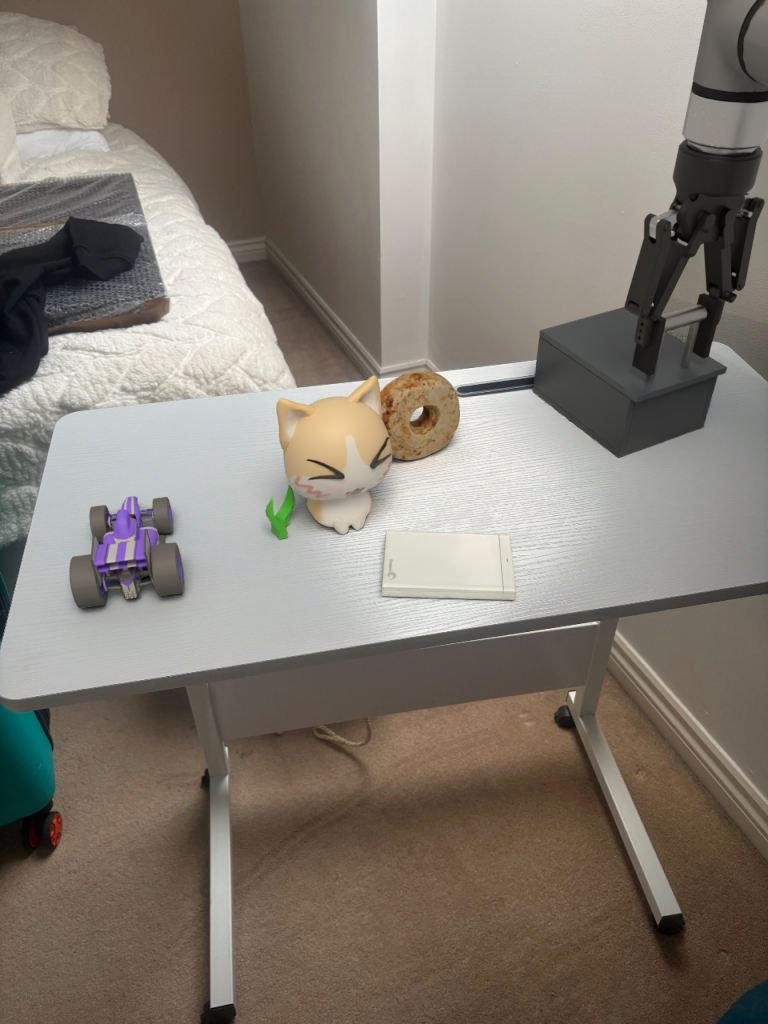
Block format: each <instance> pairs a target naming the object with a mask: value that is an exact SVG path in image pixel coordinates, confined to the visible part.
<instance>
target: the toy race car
mask: <svg viewBox="0 0 768 1024" xmlns="http://www.w3.org/2000/svg"><path fill="white" fill-rule="evenodd" d="M88 515H89V516H88V517H89V526H90V527H89V528H90V532H91V536H92V539H91V547H90V553H89V554H82V555H74V556H72V557H71V558H70V562H69V570H68V571H69V574H68V575H69V585H70V590H71V594H72V598H73V601H74V603H75V605H76V607H77V608H78V609H85V608H92V607H99V606H104V605H106V602H107V599H108V598H107V597H108V590H121V591H122V592H121V593H122V596H123V598H124V599H125V600H129V599H136V598H139V597H140V590H141V586H145V585H149V584H152V585H153V586H154V590H155V592H156V594H157V596H158V597H167V596H172V595H179V594H183V593H184V590H185V578H184V575H185V574H184V567H183V563H182V562H183V561H182V556H181V551H180V548H179V545H178V543H177V542H176V541H175V542H173V541H172V542H166V540H165V539H166V537H165V536H166V535H165V534H169V533H173V531H174V517H173V511H172V506H171V501H170V499H169V497H168V496H163V497H155V498H152V503H151V504H147V505H140V504H139V498H138V496H136V495H133V496H127V497H126V498H125V499H124V501H123V502H122V504H121V507H120V508H117V509H109V508H108V506H107V505H106V504H101V505H94V506H90V508H89V513H88ZM142 516H143V517H142ZM149 519H150V520H149ZM142 520H143V521H142ZM151 522H153V523H154V527H153V526H144V525H143V524H145V523H151ZM143 526H144V527H143ZM99 543H102V544H99ZM107 573H108V575H107ZM144 577H149V578H150V580H149V581H145V582H142V579H143V578H144ZM109 582H119V586H109Z"/></svg>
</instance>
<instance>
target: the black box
mask: <svg viewBox="0 0 768 1024" xmlns="http://www.w3.org/2000/svg"><path fill="white" fill-rule="evenodd" d="M718 377H719V375H718V376H715V377H712V378H709V379H706V380H703V381H700V382H697V383H694V384H691V385H688V386H685V387H682V388H679V389H676V390H673V391H670V392H667V393H664V394H661V395H658V396H655V397H652V398H649V399H646V400H643V401H640V402H637V403H636V402H634V401H633V400H632V399H630V398H629V397H627V396H626V395H624V394H623V393H621V392H620V391H618V390H617V389H616V388H614V387H613V386H611V385H610V384H608V383H607V382H605V381H604V380H603V379H601V378H600V377H598V376H597V375H595V374H594V373H592V372H591V371H589V370H588V369H587V368H585V367H584V366H582V365H581V364H579V363H578V362H576V361H575V360H573V359H572V358H571V357H569V356H568V355H566V354H565V353H563V352H562V351H560V350H559V349H557V348H556V347H555V346H553V345H552V344H550V343H549V342H547V341H546V340H544V339H543V338H542V337H540V336H538V344H537V353H536V361H535V368H534V378H533V384H532V385H533V386H532V393H534V394H535V395H536V396H537V397H539V398H540V399H542V401H544V402H545V403H546V404H548V405H549V406H550V407H552V408H553V409H554V410H555V411H557V412H558V413H560V414H561V415H562V416H563V417H565V418H566V419H567V420H569V422H571V423H573V424H574V425H575V426H576V427H578V428H579V429H580V430H582V431H583V432H584V433H585V434H587V435H588V436H589V437H591V438H592V439H593V440H594V441H596V442H597V443H598V444H600V446H602V447H603V448H605V449H606V450H608V452H610V453H611V454H613V455H614V457H617V458H619V459H620V458H623V457H624V456H628V455H631V454H633V453H636V452H639V451H642V450H644V449H647V448H649V447H653V446H656V445H658V444H660V443H664V442H666V441H670V440H672V439H675V438H678V437H681V436H683V435H686V434H689V433H691V432H694V431H697V430H701V429H703V428H704V427H705V424H706V420H707V416H708V413H709V409H710V406H711V402H712V398H713V395H714V391H715V388H716V384H717V381H718Z"/></svg>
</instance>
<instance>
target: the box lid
mask: <svg viewBox="0 0 768 1024" xmlns="http://www.w3.org/2000/svg"><path fill="white" fill-rule="evenodd" d="M661 316H662V317H664V318H666V324H665V328H664V333H663V337H662V342H661V346H660V350H659V355H658V359H657V364H656V368H655V373H654V375H651V376H648V375H646V374H645V373H643V372H642V371H640V370H639V369H637V368H636V367H634V366H632V362H633V357H634V352H635V348H636V342H635V340H634V337H635V334H636V333H635V332H636V327H637V322H638V316H636V315H635V314H633V313H631V312H629V311H628V310H626V309H625V307H624V306H622V307H619V308H615V309H612V310H608V311H603V312H601V313H597V314H594V315H589V316H586V317H582V318H579V319H575V320H572V321H568V322H564V323H561V324H558V325H557V324H556V325H554V326H550V327H547V328H543V329H540V330H539V335H538V337H542V338H543V339H544V340H546V341H547V342H549V343H550V344H552V345H553V346H555V347H556V348H557V349H559V350H560V351H562V352H563V353H565V354H566V355H568V356H569V357H571V358H572V359H573V360H575V361H576V362H578V363H579V364H581V365H582V366H584V367H585V368H587V369H588V370H589V371H591V372H592V373H594V374H595V375H597V376H598V377H600V378H601V379H603V380H604V381H605V382H607V383H608V384H610V385H611V386H613V387H614V388H616V389H617V390H618V391H620V392H621V393H623V394H624V395H626V396H627V397H629V398H630V399H632V400H633V401H634V402H636V403H637V402H640V401H643V400H646V399H649V398H652V397H655V396H658V395H661V394H664V393H667V392H670V391H673V390H676V389H679V388H682V387H685V386H688V385H691V384H694V383H697V382H700V381H703V380H706V379H709V378H712V377H715V376H718V377H719V376H721V375H724V374H726V373H727V371H728V366H726V365H724V364H723V363H721V362H719V361H718V360H716V359H714V358H712V357H711V356H709V357H707V358H704V359H703V358H701V357H700V356H698V355H696V354H695V353H693V348H694V344H695V340H696V336H697V332H698V329H699V325H700V321H703V320H705V319H706V317H707V310H706V308H705V306H703V305H701V304H699V305H697V304H696V305H692V306H688V307H685V308H682V309H678V310H675V311H671V312H668V313H665V314H662V315H661ZM687 326H689V329H688V332H687V337H686V341H683V340H681V339H680V338H678V337H676V336H674V335H673V334H671V333H669V332H670V331H674V330H677V329H680V328H684V327H687Z"/></svg>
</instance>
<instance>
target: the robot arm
mask: <svg viewBox="0 0 768 1024" xmlns="http://www.w3.org/2000/svg"><path fill="white" fill-rule="evenodd" d="M706 2H707V3H706V8H705V14H704V19H703V24H702V28H701V35H700V39H699V45H698V50H697V55H696V60H695V65H694V70H693V76H692V83H691V87H690V92H689V97H688V103H687V107H686V113H685V117H684V121H683V126H682V131H681V132H682V133H681V134H682V136H683V138H684V140H683V141H682V142H680V144H679V145H678V148H677V152H676V153H677V154H676V157H675V163H674V168H673V173H672V181H673V183H674V186H675V190H676V192H675V195H674V198H673V200H672V202H671V203H670V205H669V207H668V211H667V210H666V211H665V212H663V213H661V214H659V215H656V214H654V213H652V212H650V213H648V214H646V215H645V218H644V221H643V240H642V242H641V246H640V250H639V253H638V258H637V260H636V264H635V266H634V271H633V274H632V278H631V281H630V285H629V288H628V291H627V295H626V298H625V302H624V306H623V307H625V309H626V310H628V311H629V312H631V313H633V314H635V315H636V316H638V322H637V327H636V332H635V333H636V334H635V337H634V340H635V342H636V348H635V352H634V357H633V362H632V366H634V367H636V368H637V369H639V370H640V371H642V372H643V373H645V374H646V375H648V376H651V375H654V373H655V368H656V364H657V359H658V355H659V350H660V346H661V342H662V337H663V333H664V328H665V324H666V318H664V317H662V316H661V315H663V313H664V310H665V309H666V307H667V305H668V302H669V301H670V299H671V296H672V295H673V293H674V290H675V289H676V287H677V284H678V283H679V280H680V278H681V276H682V274H683V273H684V270H685V268H686V266H687V264H688V262H689V260H690V259H691V258H694V257H695V256H696V255H697V253H698V251H699V249H700V247H701V245H703V256H704V258H703V259H704V273H705V274H704V277H705V291H706V292H707V293H708V294H707V293H705V292H704V293H703V292H702V293H699V294H698V299H697V302H696V305H699V304H701V305H703V306H705V308H706V310H707V317H706V319H705V320H703V321H700V325H699V329H698V332H697V336H696V340H695V344H694V348H693V353H695V354H696V355H698V356H700V357H701V358H703V359H704V358H707V357H710V353H711V349H712V345H713V341H714V337H715V335H716V330H717V327H718V325H719V323H720V322H721V319H722V316H723V312H724V308H725V304H726V302H727V303H729V304H733V303H734V302H735V301H736V300H737V298H738V294H737V293H734V292H735V291H737V292H741V291H742V290H743V289H744V288H745V286H746V282H747V277H748V271H749V266H750V261H751V256H752V251H753V244H754V239H755V234H756V228H757V225H758V221H759V218H760V217H761V214H762V211H763V208H764V206H765V203H766V201H765V199H764V198H762V197H759V196H757V195H754V194H751V193H749V192H750V191H752V190H753V188H754V186H755V184H756V181H757V178H758V173H759V170H760V167H761V166H760V165H761V163H762V162H761V161H762V158H763V154H764V152H763V150H762V147H761V146H762V145H764V144H765V143H766V142H767V141H768V0H706ZM679 240H680V241H681V242H679ZM683 243H686V244H687V245H686V244H683ZM734 274H735V275H734Z"/></svg>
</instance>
